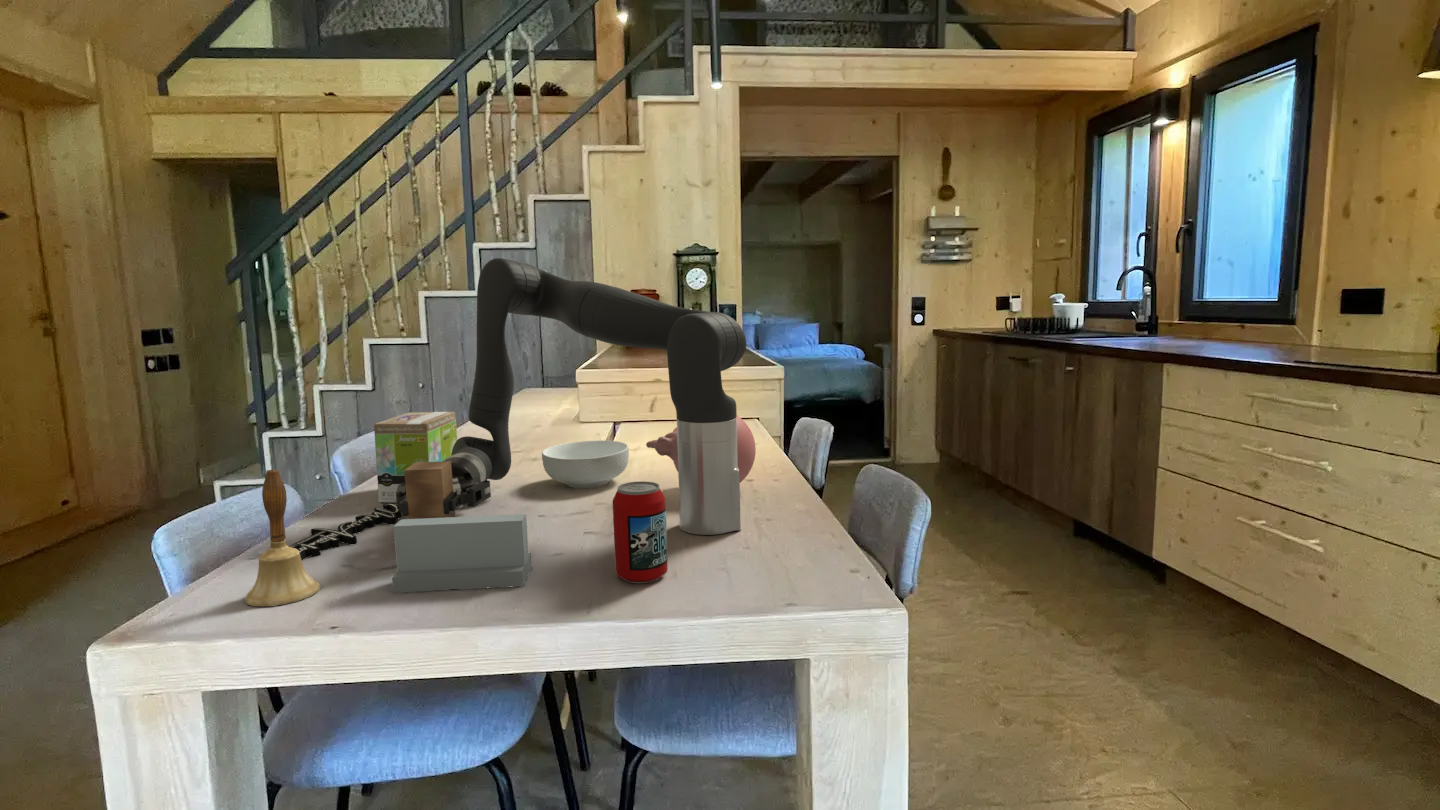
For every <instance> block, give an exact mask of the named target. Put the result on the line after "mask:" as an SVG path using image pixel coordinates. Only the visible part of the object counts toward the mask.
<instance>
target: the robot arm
mask: <svg viewBox="0 0 1440 810" xmlns="http://www.w3.org/2000/svg"><path fill="white" fill-rule="evenodd" d="M508 314H512V315H513V314H514V315H522V316H533V317H541V318H547V319H552V320H556V321H559V322H561V323H562V324H565V325H566V326H567V327H568V328H570V330H573V331H574V332H575V333H578V334H580V335H582V336H584V337H586V338H589V339H594V340H596V341H600V342H603V343H606V344H611V345H616V346H622V347H631V348H642V349H644V348H645V349H656V350H657V349H658V350H664V351H666V353H667V354H666V355H667V368H668V369H667V371H668V379H669V380H668V381H669V382H668V383H669V392H670V398H671V401H672V404H673V406H674V409H675V412H676V413H675V414H676V427H677V445H678V471H677V473H678V475H677V476H678V502H679V503H678V505H679V514H678V515H679V517H678V518H679V528H680V529H681V530H682V531H684V532H685V533H688V534H691V535H692V534H694V535H704V536H705V535H706V536H710V535H713V536H714V535H721V534H726V533H730V532H735V531H741V530H742V529H741V492H740V491H741V488H740V485H741V482H740V477H739V469H738V459H737V416H738V414H737V411H738V410H737V403H736V400H735V399H734V398H733V397H731V396H730V395H728V394H727V393H725V391H724V389H723V384H722V383H723V381H722V372H723V371H726V370H728V369H730V368H732V367H734V366H735V365H736V364H738V363H739V362H740V361H741V359H743V356H744V355H745V353H746V349H747V339H746V333H745V332H744V330H743V328H742V327H741V325H740V324H739V323H738V322H737V321H736V320H735V319H734V318H733V317H731V316H730V315H728V314H727V313H722V312H716V311H708V310H707V311H705V310H698V309H692V308H686V307H681V306H675V305H672V304H668V303H667V302H666V303H665V302H663V301H660V300H657V299H654V298H652V297H648V296H646V295H642V294H639V293H636V292H633V291H629V290H626V289H623V288H619V287H617V286H612V285H609V284H606V283H605V284H604V283H601V282H595V281H587V280H569V279H565V278H563V277H560V276H558V275H555V274H552V273H549V272H548V271H545V270H544V269H541V268H539V267H537V266H534V265H532V264H528V263H524V262H520V261H515V260H512V259H509V258H501V257H496V258H495V257H494V258H492V259H491V260H488V261H487V262H486V263H485V264H484V266H483V267H482V269H481V271H480V274H479V277H478V284H477V291H476V360H475V372H474V379H473V384H472V391H471V397H470V403H469V404H470V405H469V409H468V415H467V416H468V420H469V422H471V424H474V425H475V426H477V427H479V428H482V429H484V430H486V431H488V432H489V434H490V435H491V438H492V440H491V439H487V438H481V437H476V436H466V435H465V436H462V437H460V438H459V437H458V438H457V441H456V442H455V444H454V446H453V449H452V453H451V456H450V457H448V458H446V459H445V460H444V461H451V467H452V480H453V493H450V494H449V495H448V496H447V497H446V498H445V499H444V500H443V507H444V514H451V513H452V512H453V511H455V512H456V510H458V509H461V508H463V507H464V506H467V507H470V508H472V507H475V506H477V505H479V504H481V503H482V502H484V501H486V500H489V498H491V497H492V492H491V491H492V490H491V481H499V480H502V479H503V478H504V477H506V476H507V475H508V473H509V472H510V469H511V465H512V453H511V444H510V443H511V442H510V436H509V434H510V433H509V422H510V421H509V419H510V411H511V406H512V401H513V396H514V386H515V379H514V378H515V377H514V372H513V368H512V364H511V360H510V358H509V357H510V356H509V354H508V350H507V344H506V343H507V342H506V335H505V331H506V322H507V317H508ZM442 462H443V461H442ZM490 480H491V481H490ZM395 504H396V505H397V509H399V510H400V512H401V514H403V515H402V516H404V517H408V516H409V514H408V502H407V496H406V484H404V483H403V484H400V485H398V488H397V491H396V503H395Z"/></svg>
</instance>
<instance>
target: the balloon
mask: <svg viewBox="0 0 1440 810" xmlns="http://www.w3.org/2000/svg"><path fill="white" fill-rule="evenodd" d="M753 434H754V433H753V432H752V430H751V429H750V427H749V425H748V424H747V423H746V421H744V420H743V419H742V417H740V416H739V415H737V459H738V469H739V477H740V483H741V482H743V481H744V480H745V479H746V477H748V475H749V473H750V472H751V470H752V469H753V465H754V463H755V459H756V453H757V452H756V451H757V448H756V442H755V441H756V440H755V437H754V435H753ZM645 446H646V448H649V449H650V448H651V449H654V450H655V452H656V453H657V455H659V456H661V457H662V456H667V457H669V458H670V459H671V460H672V462H673V465H674V467H675V470H676V472H678V445H677V426H676V427H675V428H674V429H673V430H672V431H671V432H668V433H666V434H665V435H664V436H659V437H658V438H657V439H653V440H649V441H647V442H646V443H645Z"/></svg>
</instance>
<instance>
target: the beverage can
mask: <svg viewBox="0 0 1440 810" xmlns="http://www.w3.org/2000/svg"><path fill="white" fill-rule="evenodd" d="M666 506H667V505H666V495H664V492H663V491H662V489H661V488H660V484H658V483H657V482H654V481H645V480H644V481H642V480H641V481H631V482H630V481H629V482H625V483H622V484H620V485H618V486H617V489H616V492H615V494H614V497H613V499H612V519H613V520H612V521H613V523H612V524H613V541H614V542H613V544H614V546H613V547H614V559H615V560H614V561H615V574H616V575H617V576H618V577H619V578H620V579H623V580H624V581H626V582H628V583H633V584H646V583H651V582H654V581H657V580H659V579H660V578H661V577H663V575H665V574H666V573H667V572H668V539H667V538H668V533H667V532H668V530H667V511H666V510H667V507H666Z"/></svg>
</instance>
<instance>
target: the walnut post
mask: <svg viewBox="0 0 1440 810" xmlns="http://www.w3.org/2000/svg"><path fill="white" fill-rule="evenodd" d="M404 473H405V484H406V496H407V502H408V514H409V516H407V517H408V518H407V519H423V518H446V517H456V510H455V511H453V512H452V513H451V514H444V507H443V500H444V499H445V498H446V497H447V496H448V495H449V494H450V493H453V480H452V467H451V461H443V462H417V463H414V464H413V465H411V466H410V467H409V468H407V469H406V470H404Z"/></svg>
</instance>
